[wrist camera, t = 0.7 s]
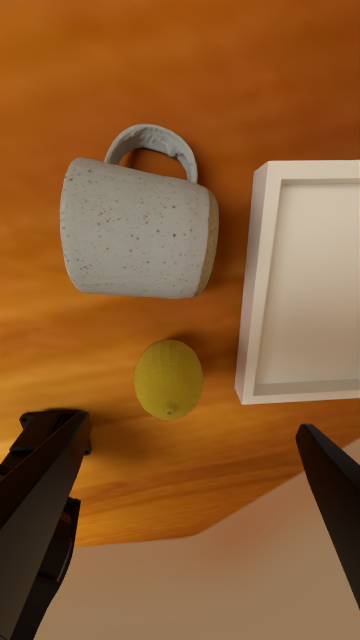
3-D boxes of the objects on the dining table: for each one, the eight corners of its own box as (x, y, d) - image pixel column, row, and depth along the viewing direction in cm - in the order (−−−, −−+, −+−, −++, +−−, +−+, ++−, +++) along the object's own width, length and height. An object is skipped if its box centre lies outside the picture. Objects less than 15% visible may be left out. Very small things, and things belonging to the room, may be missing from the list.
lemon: (129, 354, 21) (109, 418, 14) (165, 314, 20) (163, 362, 12) (171, 382, 23) (173, 454, 15) (207, 347, 21) (228, 407, 14)
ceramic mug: (194, 288, 19) (211, 318, 12) (100, 280, 18) (58, 307, 11) (213, 144, 15) (253, 62, 8) (96, 126, 15) (29, 20, 8)
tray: (357, 381, 24) (377, 396, 22) (234, 387, 23) (241, 404, 21) (432, 169, 17) (475, 158, 14) (253, 171, 16) (268, 160, 14)
